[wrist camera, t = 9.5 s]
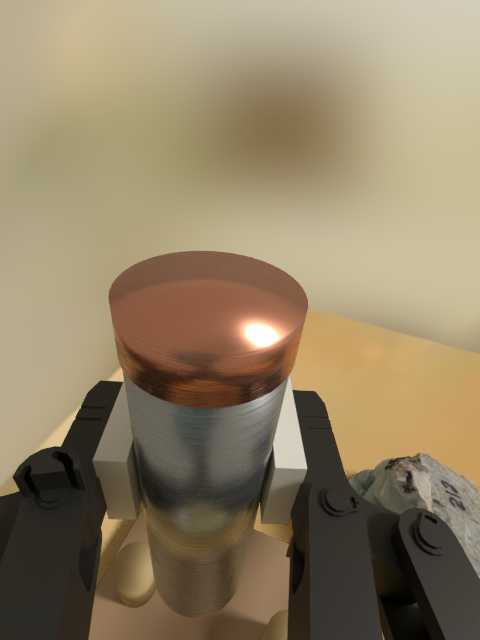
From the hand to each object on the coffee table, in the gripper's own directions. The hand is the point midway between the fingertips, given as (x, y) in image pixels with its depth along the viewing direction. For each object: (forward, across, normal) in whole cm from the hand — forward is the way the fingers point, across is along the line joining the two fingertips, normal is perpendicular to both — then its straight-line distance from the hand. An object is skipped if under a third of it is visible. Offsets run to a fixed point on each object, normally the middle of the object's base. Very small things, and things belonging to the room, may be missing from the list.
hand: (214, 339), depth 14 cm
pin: (-5, 0, -7) cm, 9 cm away
